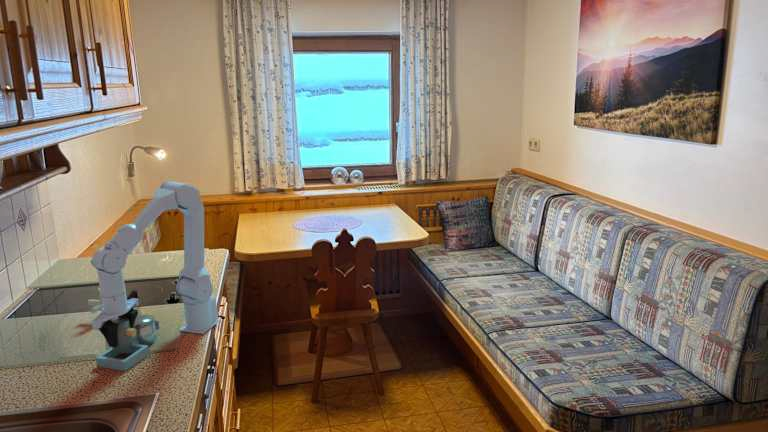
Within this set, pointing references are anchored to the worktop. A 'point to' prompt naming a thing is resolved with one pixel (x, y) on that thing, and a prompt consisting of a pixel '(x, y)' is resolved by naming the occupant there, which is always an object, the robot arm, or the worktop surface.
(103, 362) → the light blue shallow tray
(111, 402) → the worktop surface
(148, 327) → the motor
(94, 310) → the pipe connector
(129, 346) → the dark grey rounded cylinder
